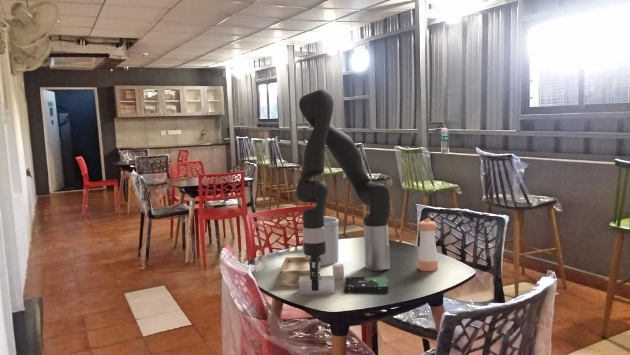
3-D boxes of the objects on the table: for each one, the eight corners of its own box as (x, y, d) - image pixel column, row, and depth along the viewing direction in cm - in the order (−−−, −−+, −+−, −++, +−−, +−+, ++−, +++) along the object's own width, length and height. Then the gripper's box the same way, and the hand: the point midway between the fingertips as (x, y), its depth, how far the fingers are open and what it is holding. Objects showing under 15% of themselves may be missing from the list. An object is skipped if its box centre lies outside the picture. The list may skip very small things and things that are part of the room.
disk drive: (344, 295, 162) (389, 294, 160) (344, 287, 161) (388, 286, 159) (346, 284, 172) (388, 283, 170) (345, 276, 172) (387, 275, 170)
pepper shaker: (441, 267, 183) (440, 218, 181) (431, 272, 178) (430, 221, 176) (424, 264, 188) (423, 216, 186) (414, 269, 183) (413, 219, 181)
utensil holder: (332, 254, 209) (331, 214, 207) (345, 263, 195) (343, 220, 193) (300, 258, 205) (298, 218, 203) (311, 268, 191) (309, 225, 189)
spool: (344, 276, 178) (343, 263, 178) (344, 280, 175) (343, 267, 174) (333, 277, 179) (332, 264, 178) (333, 280, 175) (332, 267, 174)
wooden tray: (320, 270, 188) (319, 256, 187) (317, 285, 170) (317, 270, 170) (286, 271, 189) (285, 257, 188) (280, 286, 171) (279, 271, 171)
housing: (335, 289, 166) (334, 273, 165) (334, 294, 162) (334, 277, 161) (300, 290, 167) (299, 274, 166) (299, 295, 162) (298, 278, 162)
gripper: (324, 244, 155) (326, 293, 156) (326, 234, 169) (328, 279, 171) (301, 245, 155) (303, 293, 157) (305, 235, 169) (307, 279, 171)
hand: (316, 286), depth 164 cm, fingers open, 8 cm apart
